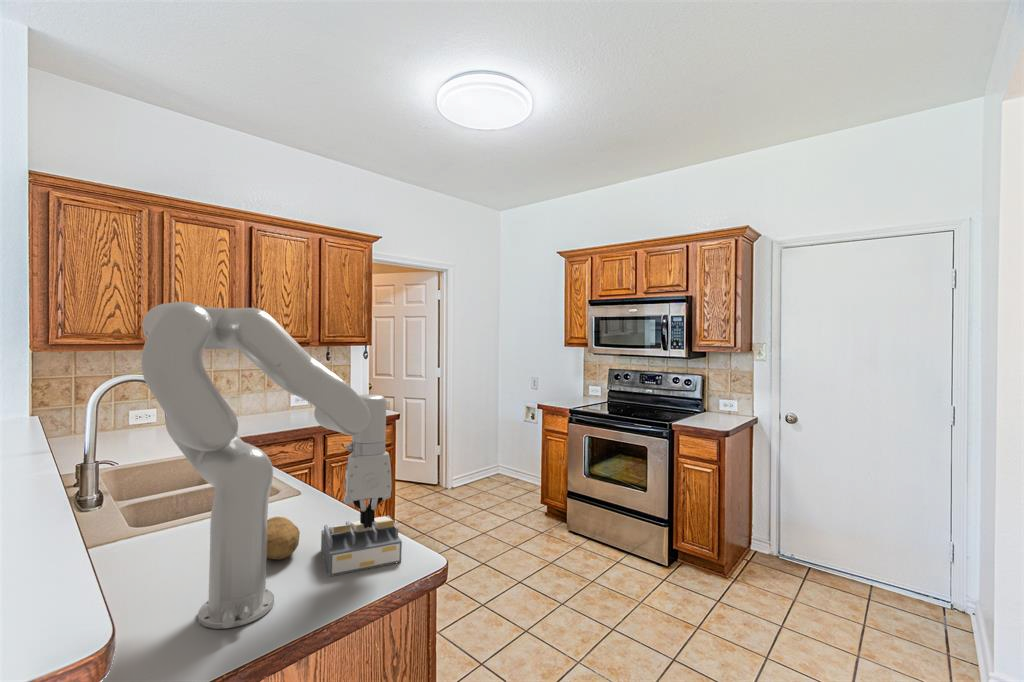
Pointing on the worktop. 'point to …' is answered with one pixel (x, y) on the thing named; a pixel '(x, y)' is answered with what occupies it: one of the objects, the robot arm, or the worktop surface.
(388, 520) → the block
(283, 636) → the worktop surface
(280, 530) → the potato
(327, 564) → the box
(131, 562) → the worktop surface
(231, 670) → the worktop surface
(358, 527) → the rocker
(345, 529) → the rocker
